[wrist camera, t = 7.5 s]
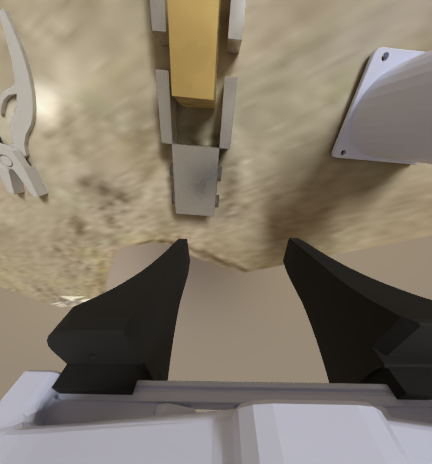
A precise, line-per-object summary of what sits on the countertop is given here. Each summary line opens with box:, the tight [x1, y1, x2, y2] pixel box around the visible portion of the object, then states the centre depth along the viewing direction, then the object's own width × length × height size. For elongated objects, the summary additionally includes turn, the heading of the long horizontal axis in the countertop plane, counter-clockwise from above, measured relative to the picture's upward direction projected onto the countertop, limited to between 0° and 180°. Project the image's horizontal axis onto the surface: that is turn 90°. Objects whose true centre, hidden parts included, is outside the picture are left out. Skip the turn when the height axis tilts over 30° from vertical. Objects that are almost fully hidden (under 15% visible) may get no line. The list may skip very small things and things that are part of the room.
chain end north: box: [155, 69, 238, 216], centre depth 16 cm, size 6×12×2 cm, turn 176°
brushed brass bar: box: [167, 0, 221, 109], centre depth 12 cm, size 3×6×4 cm, turn 176°
